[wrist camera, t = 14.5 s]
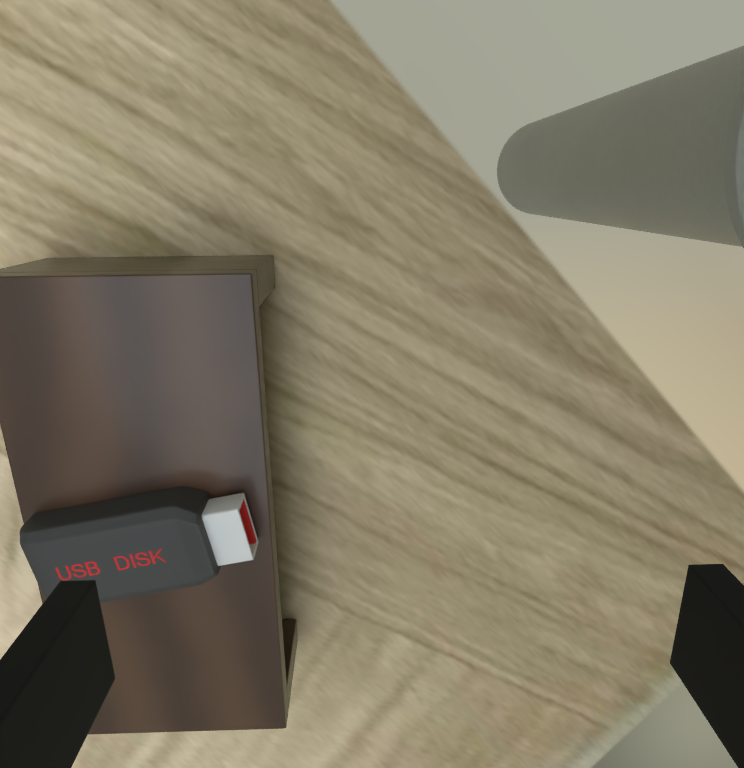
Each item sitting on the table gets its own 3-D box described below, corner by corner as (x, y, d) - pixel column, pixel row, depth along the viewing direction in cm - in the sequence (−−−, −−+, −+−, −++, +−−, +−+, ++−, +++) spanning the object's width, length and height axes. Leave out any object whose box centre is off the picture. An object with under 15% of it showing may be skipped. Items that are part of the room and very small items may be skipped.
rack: (273, 255, 36) (251, 273, 29) (297, 639, 46) (286, 729, 38) (47, 257, 36) (-36, 276, 28) (119, 644, 46) (72, 735, 38)
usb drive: (33, 513, 33) (5, 541, 30) (240, 475, 32) (229, 500, 30) (66, 588, 34) (42, 621, 32) (263, 553, 34) (255, 583, 31)
